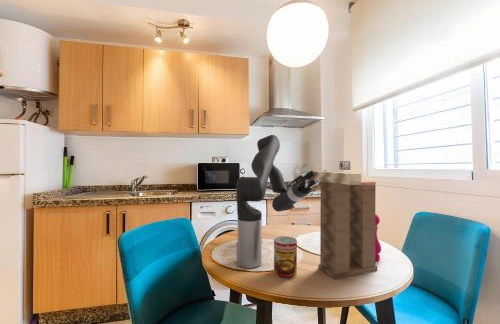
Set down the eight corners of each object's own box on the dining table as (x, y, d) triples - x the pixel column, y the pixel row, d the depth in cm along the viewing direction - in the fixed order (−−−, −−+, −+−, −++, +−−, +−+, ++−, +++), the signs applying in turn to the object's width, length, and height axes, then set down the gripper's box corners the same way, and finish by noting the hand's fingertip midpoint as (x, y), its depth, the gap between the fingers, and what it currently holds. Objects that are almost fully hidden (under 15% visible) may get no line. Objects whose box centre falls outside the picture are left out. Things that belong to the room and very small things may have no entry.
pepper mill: (383, 262, 96) (384, 211, 96) (363, 261, 97) (364, 210, 97) (378, 255, 103) (378, 207, 103) (359, 254, 104) (359, 207, 104)
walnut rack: (318, 268, 91) (318, 181, 90) (358, 260, 98) (358, 180, 97) (335, 279, 82) (335, 183, 82) (377, 270, 89) (377, 181, 89)
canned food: (273, 278, 83) (273, 242, 83) (274, 268, 91) (274, 235, 91) (297, 280, 82) (297, 244, 82) (296, 269, 90) (296, 236, 89)
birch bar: (306, 179, 100) (306, 170, 100) (315, 179, 101) (315, 170, 101) (351, 184, 77) (351, 173, 77) (361, 184, 79) (361, 173, 79)
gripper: (282, 182, 108) (301, 164, 94) (310, 181, 113) (331, 164, 100) (286, 199, 104) (307, 181, 91) (315, 197, 110) (338, 180, 96)
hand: (319, 172), depth 95 cm, fingers open, 5 cm apart
